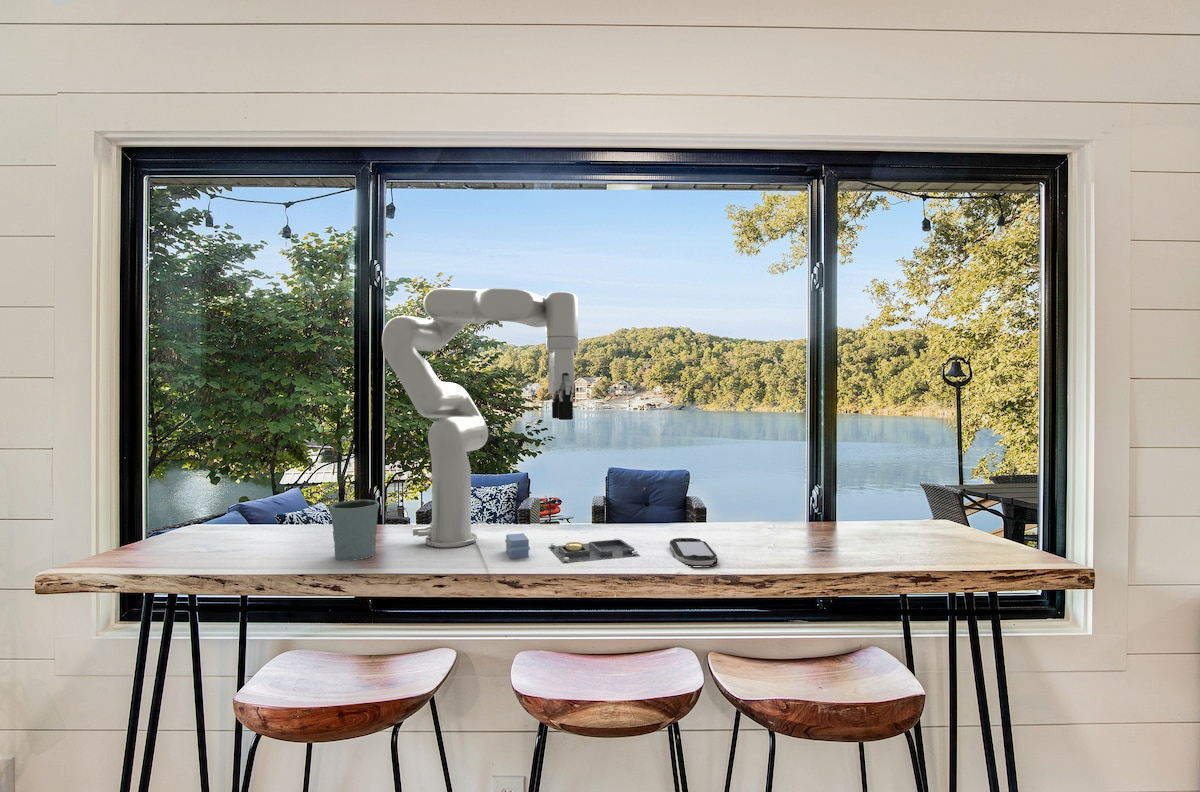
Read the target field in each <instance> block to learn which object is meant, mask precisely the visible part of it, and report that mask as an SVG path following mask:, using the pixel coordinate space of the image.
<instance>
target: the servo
mask: <svg viewBox="0 0 1200 792" xmlns="http://www.w3.org/2000/svg"><path fill="white" fill-rule="evenodd" d="M504 542H505V544H506V545H505V552H506V554H507V555H508V557H509V558H510V560H512V559H523V558H529V555H530V554H529V553H530V549H531V547H530V545H529V544H530V543H529V542H530V539H529V538H528V537H527V536H526V535H525V533H524V532H523V533H522V532H521V533H510V534H509V533H508V534H505V541H504Z"/></svg>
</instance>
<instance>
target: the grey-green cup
mask: <svg viewBox="0 0 1200 792" xmlns="http://www.w3.org/2000/svg"><path fill="white" fill-rule="evenodd" d="M379 504H380V503H379V501H377V500H373V499H351V500H343V501H340V502H339V501H338V502H336V503H333V504H331V505H330V506H329V507H330V508H329V509H330V513H331V514H330V516H331V525H332V529H333V530H332V535H333V536H332V537H333V541H334V544H333V545H334V547H333V548H334V558H335V559H336V560H337V559H340V560H339V561H342V560H354V559H361V558H366V557H369V556H372V555H374V556H375V554H376V547H377V546H376V543H377V524H378V514H379V513H378V512H379ZM372 557H373V556H372ZM369 558H370V557H369ZM366 559H367V558H366ZM354 561H355V560H354Z"/></svg>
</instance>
